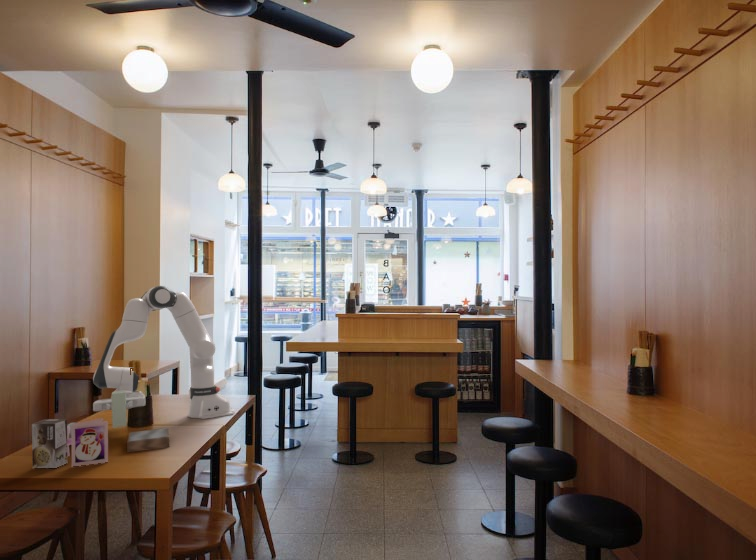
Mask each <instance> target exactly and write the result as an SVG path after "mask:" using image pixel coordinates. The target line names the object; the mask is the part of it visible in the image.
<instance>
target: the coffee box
mask: <svg viewBox="0 0 756 560" xmlns="http://www.w3.org/2000/svg"><path fill="white" fill-rule="evenodd" d="M67 425H68V418H43V419H42V420H41V419H40V420H38V421H36V422H33V423H31V437H32V438H31V441H32V442H31V447H32V450H31V451H32V455H31V456H32V468H33V467H35V468H57V467H59V466H61V465H63V466H65V465H64V464H66V463H67V464H68V457H67ZM67 464H66V465H67ZM61 467H62V466H61ZM59 468H60V467H59ZM57 469H58V468H57Z"/></svg>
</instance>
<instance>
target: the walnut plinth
mask: <svg viewBox="0 0 756 560" xmlns="http://www.w3.org/2000/svg"><path fill="white" fill-rule="evenodd" d="M169 430H170V429H169V428H167V427H166V428H165V427H164V428H157V429H149V430H140V431H130V432H129V433H128V437H127V445H126V447H127V448H126V449H127V451H126V452H127V453H132V452H139V451H147V450H156V449H161V448H163V449H164V448H170V431H169Z"/></svg>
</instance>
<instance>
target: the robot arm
mask: <svg viewBox="0 0 756 560" xmlns="http://www.w3.org/2000/svg"><path fill="white" fill-rule="evenodd" d="M163 309H167V310H168V311H169V312H170V313H171V315H172V317H173V320H174V321H175V323H176V325H177V327H178V329H179V330H180V332H181V335H182V337H183V338H184V340H185V342H186V344H187V345H188V347H189V365H190V367H189V368H190V387H189V388H190V389H189V399H190V402H189V410H188V413H187V417H188V418H192V419H202V420H204V419H205V420H206V419H211V418H213V419H214V418H219V417H225V416H232V415H234V414H235V412H236V411H235V409H234V408H233V407H231V403H230V401H229V399H228V398H226V396H224V395H222V394H221V393H219V392H220V390H221V389H220V387H219V386H217V385H215V369H214V359H213V358H214V357H213V356H214V355H215V353H216V345H215V342H214V340H213V339H212V337H211V335H210V334H209V331H208V330H207V328H206V326H205V325H204V323H203V321H202V319H201V317H200V314H199V313H198V311H197V309H196V307H195V305H194V303H193V301H192V300H191V298H189V296H188V295H187V294H186V293H185V292H183V291H179V292H174V291H173V290H172V289H170V288H169V287H167V286H165V285H157V286H154V287H151V288H149V289H148V290H147V291H145V292H144V294H143V295H142V296H141V297H140V298H139V297H136V298H132V299H131V298H130V300H128V301H127V302H126V306H125V308H124V311H123V315H122V319H121V320H122V321H121V323H120V326H119V327H118V328H117V329H116V330H114V331H112V333H110V336H109V338H108V341H107V343H106V346H105V348H104V350H103V353H102V355H101V358H100V361H99V364H98V366H97V367H96V369H95V372H94V373H93V377H92V383H93V384H94V385H95V387H97V388H98V389H115V390H114V391H113V392H117V391H126V410H129V409H132V408H138V407H144V406H146V405H147V404H146V402H147V401H146V400H147V399H146V395H145V394H144V393H143V391H141V390H140V391H137V390H138V387H139V386H138V385H139V382H138V380H139V381H140V375H137V374H136V373H135V372H134V371H132V369H131V375H130V368H131V367H126V366H124V367H122V366H111V365H110V363H111V362H112V361H111V360H112V358H113V355H114V353H115V350H116V349H117V347H119V346H120V345H122V344H125V343H131V342H134V341H138V340H139V339H141V338H143V336H145V334H146V332H147V329H148V323H149V317H150V314H151V313H152V312H154V311H160V310H163ZM110 410H111V411H112V395H111V396H110V398H103V399H98V400H95V401H94V402H93V403H92V411H93V412H101V411H110Z"/></svg>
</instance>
